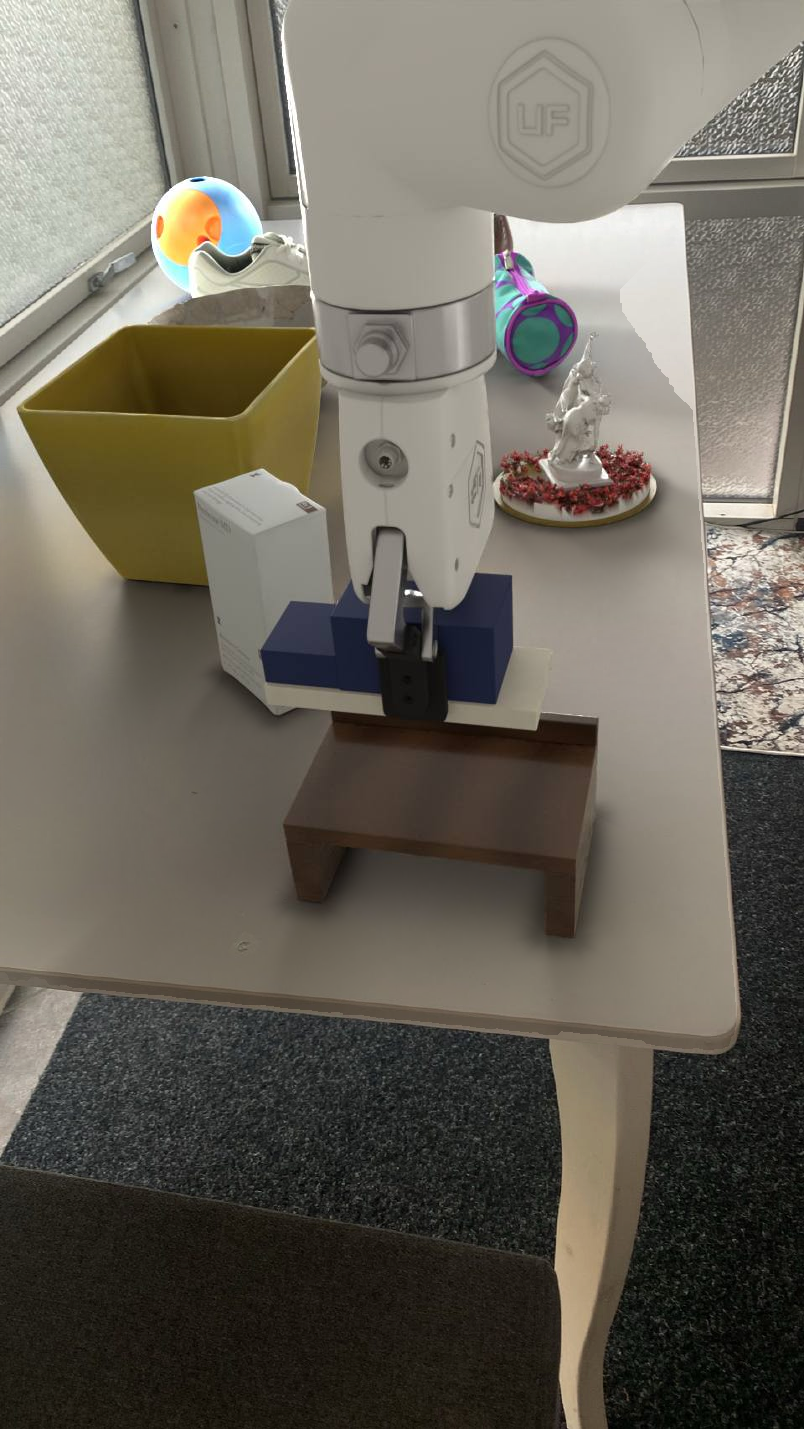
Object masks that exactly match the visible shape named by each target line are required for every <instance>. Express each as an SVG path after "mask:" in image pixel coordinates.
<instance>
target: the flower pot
mask: <svg viewBox="0 0 804 1429" xmlns="http://www.w3.org/2000/svg"><path fill="white" fill-rule="evenodd" d="M321 378H322V375H321V372H320V364H319V355H318V347H317V338H316V330H315V328H295V327H251V326H198V325H147V324H141V323H139V324H128V325H123V326H121V327H119V328H118V329H116V330H115V331H113V332H112V333H111V334H109V335H108V336H107V337H105V339H103V340H102V341H100V342H99V343H98V344H97V345H95V346H94V347H92V348H91V349H90V350H88V351H87V352H85V354H83V355H82V356H80V357H79V358H77V359H76V360H75V361H74V362H72V363H71V364H70V365H69V366H66V368H65V369H64V370H62V371H61V372H59V373H58V374H56V375H55V376H54V377H52V378H51V379H50V380H49V381H48V382H46V383H45V384H44V385H43V386H41V387H40V388H38V389H37V390H36V391H35V392H33V393H32V394H31V395H29V396H28V397H27V398H25V399H24V400H22V402H19V404H18V405H17V406H16V412H17V414H18V417H19V419H20V421H21V423H22V426H23V427H24V430H25V431H26V433H27V435H28V437H29V439H30V441H31V444H32V445H33V447H34V450H35V451H36V453H37V455H38V457H39V459H40V461H41V462H42V464H43V466H44V468H45V469H46V471H47V473H48V475H49V477H50V478H51V480H52V482H53V483H54V485H55V487H56V489H57V490H58V492H59V493H60V495H61V496H62V498H63V500H64V501H65V503H66V505H67V506H68V507H69V509H70V511H71V512H72V514H73V515H74V517H75V519H76V520H77V521H78V522H79V524H80V525H81V526H82V528H83V529H84V531H85V532H86V534H87V535H88V536H89V538H90V539H91V541H92V542H93V543H94V544H95V546H96V547H97V548H98V550H99V551H100V552H101V554H102V555H103V556H104V557H105V559H106V560H107V561H108V563H110V565H111V566H112V567H113V568H114V569H115V570H116V572H117V573H118V575H119V576H121V577H122V578H124V579H126V580H127V579H128V580H139V581H150V582H158V583H159V582H161V583H170V584H171V583H172V584H182V585H183V584H185V585H197V586H207V587H209V582H208V576H207V569H206V563H205V557H204V550H203V544H202V538H201V532H200V526H199V520H198V514H197V508H196V502H195V496H194V493H193V492H194V491H196V490H198V489H201V488H204V487H207V486H210V485H214V484H217V483H220V482H223V481H226V480H229V479H232V478H234V477H237V476H240V475H243V474H246V473H249V472H252V471H255V470H258V469H264V470H265V471H267V472H268V473H270V474H271V475H273V476H274V477H276V478H277V479H279V480H280V481H282V482H286V483H289V484H291V485H293V486H295V487H296V488H297V489H298V491H299V492H300V493H301V494H302V495H304V496H305V497H307V495H308V490H309V485H310V480H311V474H312V469H313V463H314V457H315V451H316V444H317V436H318V427H319V418H320V409H321V408H320V407H321V394H322V389H321Z"/></svg>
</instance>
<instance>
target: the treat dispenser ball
mask: <svg viewBox="0 0 804 1429" xmlns="http://www.w3.org/2000/svg"><path fill="white" fill-rule="evenodd" d="M151 222H152V223H151V232H150V233H151V234H150V235H151V245H152V250H153V254H154V256H155V259H156V261H157V263H158V265H159V267H160V268H161V270H162V271H163V272H164V274H165V276H167V278H168V279H169V280H170V281H171V282H172V283H173V284H175V285H176V286H177V287H179V288H180V289H182V290H184V291H185V292H187V293H189V294H191V293H190V280H189V259H190V256H191V254H192V253H193V251H194V250H195V249H196V248H197V247H198V246H200V245H201V244H202V243H203V242H206V241H208V242H211V243H212V244H213V245H215V246H216V247H217V248H218V249H219V250H220V251H222V252H223V253H225V254H227V255H231V256H234V255H238V254H241V253H243V252H244V251H245V250H247V249H248V248H249V247H251V244H252V240H253V238H254V237H255V236H257V235H260V236H263V235H264V234H263V227H262V223H261V220H260V217H259V215H258V213H257V211H256V208H255V207H254V206H253V204H252V203H251V201H250V200H249V199H248V197H247V196H246V195H245V194H244V193H243V192H242V191H241V190H240V189H238V188H237V187H236V186H235V185H233V184H231V183H229V182H228V181H225V180H223V179H219V178H215V177H209V176H197V177H191V178H188V179H185V180H183V181H181V182H179V183H177V184H176V185H174V186H173V187H172V188H170V189H169V191H167V192H166V193H165V194H164V195H163V196H162V198H161V199H160V201H159V202H158V204H157V206H156V207H155V210H154V213H153V217H152V221H151Z"/></svg>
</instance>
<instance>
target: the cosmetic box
mask: <svg viewBox="0 0 804 1429" xmlns="http://www.w3.org/2000/svg"><path fill="white" fill-rule="evenodd" d="M193 493H194V496H195V502H196V508H197V514H198V520H199V526H200V532H201V538H202V544H203V550H204V557H205V563H206V569H207V576H208V582H209V586H208V588H209V594H210V600H211V606H212V611H213V612H212V613H213V616H214V617H213V618H214V623H215V631H216V636H217V643H218V650H219V656H220V661H221V666H222V669H223V671H224V672H226V673H227V674H229V675H230V676H232V677H233V678H235V679H236V680H237V681H238V682H239V683H241V684H242V685H243V686H244V687H245V688H246V689H247V690H249V691H250V692H251V693H252V695H254V696H255V697H256V698H257V699H258V700H260V701H261V702H262V703H263V704H264V706H266V708H268V709H269V711H270V712H271V713H272V714H273V715H275V716H281V715H283V714H285V713H288V712H290V711H292V710H295V709H296V708H297V707H289V706H279V705H269V704H267V701H266V695H265V690H264V685H265V683H266V681H265V675H264V669H263V664H262V658H261V653H260V650H261V648H262V646H263V645H264V643H265V642H266V640H267V638H268V637H269V635H270V633H271V632H272V630H273V629H274V627H275V625H276V624H277V622H278V620H279V619H280V617H281V616H282V614H283V612H284V611H285V609H286V607H287V606H288V604H289V603H290V601H302V602H316V603H329V604H335V600H334V590H333V588H334V587H333V580H332V579H333V578H332V566H331V555H330V554H331V553H330V543H329V532H328V522H327V520H328V519H327V511H326V510H327V509H326V508H325V507H323V506H322V505H320V504H319V503H316V502H315V501H314V500H312V499H310V498H308V497H307V496H306V497H305V496H304V495H302V494H301V493H300V492H299V491H298V489H297V488H296V487H295V486H293V485H291V484H289V483H286V482H282V481H280V480H279V479H277V478H276V477H274V476H273V475H271V474H270V473H268V472H267V471H265V470H264V469H258V470H255V471H252V472H249V473H246V474H243V475H240V476H237V477H234V478H232V479H229V480H226V481H223V482H220V483H217V484H214V485H210V486H207V487H204V488H201V489H198V490H196V491H194V492H193Z"/></svg>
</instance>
